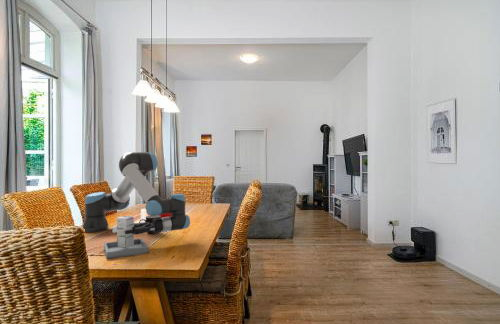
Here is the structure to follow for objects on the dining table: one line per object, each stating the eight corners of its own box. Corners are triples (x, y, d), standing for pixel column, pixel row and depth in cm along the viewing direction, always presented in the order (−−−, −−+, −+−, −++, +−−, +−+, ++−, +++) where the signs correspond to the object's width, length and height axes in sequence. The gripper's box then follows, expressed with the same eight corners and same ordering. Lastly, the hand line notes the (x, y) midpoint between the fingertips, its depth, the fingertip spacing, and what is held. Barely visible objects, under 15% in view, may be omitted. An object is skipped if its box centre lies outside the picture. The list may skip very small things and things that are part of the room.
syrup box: (134, 245, 150) (134, 215, 150) (126, 248, 144) (125, 218, 144) (125, 244, 152) (125, 215, 152) (116, 247, 146) (116, 217, 146)
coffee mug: (162, 231, 188) (162, 215, 188) (157, 234, 180) (157, 218, 179) (144, 231, 189) (144, 215, 189) (138, 234, 181) (138, 217, 181)
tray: (103, 248, 151) (103, 242, 151) (141, 243, 160) (141, 238, 160) (106, 259, 136) (106, 252, 136) (148, 252, 145) (148, 246, 145)
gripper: (168, 236, 151) (120, 243, 137) (154, 228, 167) (109, 234, 153) (168, 221, 151) (120, 227, 137) (154, 215, 167) (109, 220, 153)
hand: (115, 231), depth 145 cm, fingers closed on syrup box, 8 cm apart
